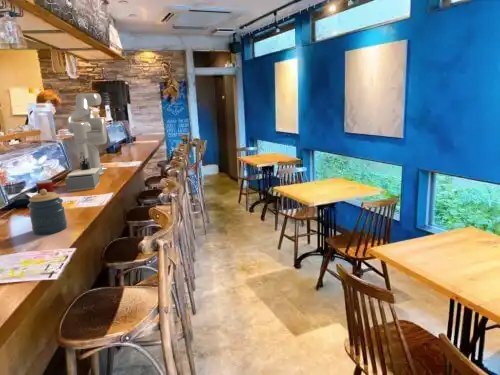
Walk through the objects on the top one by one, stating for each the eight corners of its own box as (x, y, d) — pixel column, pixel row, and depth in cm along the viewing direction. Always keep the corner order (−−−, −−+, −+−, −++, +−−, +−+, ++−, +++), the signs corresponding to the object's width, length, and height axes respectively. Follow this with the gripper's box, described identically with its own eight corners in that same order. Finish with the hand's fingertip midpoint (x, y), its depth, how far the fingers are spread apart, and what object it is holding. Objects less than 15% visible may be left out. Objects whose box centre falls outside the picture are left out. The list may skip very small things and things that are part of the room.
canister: (59, 222, 164) (52, 184, 160) (73, 227, 156) (66, 187, 152) (27, 231, 155) (19, 190, 150) (40, 237, 147) (32, 194, 142)
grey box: (74, 184, 244) (72, 172, 242) (99, 182, 247) (98, 170, 245) (67, 191, 225) (64, 178, 223) (95, 188, 228) (93, 176, 226)
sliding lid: (74, 171, 247) (72, 162, 246) (99, 168, 251) (98, 160, 249) (67, 176, 228) (65, 167, 227) (94, 174, 232) (93, 165, 230)
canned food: (58, 198, 210) (54, 179, 207) (49, 202, 202) (45, 182, 199) (45, 198, 210) (42, 179, 208) (36, 202, 203) (32, 182, 200)
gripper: (77, 140, 249) (82, 167, 253) (72, 143, 234) (77, 171, 238) (89, 139, 250) (93, 166, 255) (85, 142, 235) (89, 170, 239)
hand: (85, 168), depth 246 cm, fingers closed on sliding lid, 2 cm apart
